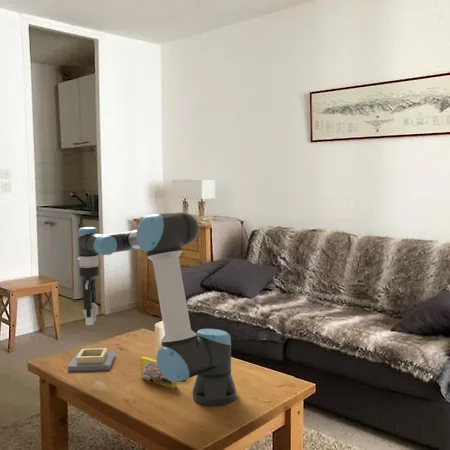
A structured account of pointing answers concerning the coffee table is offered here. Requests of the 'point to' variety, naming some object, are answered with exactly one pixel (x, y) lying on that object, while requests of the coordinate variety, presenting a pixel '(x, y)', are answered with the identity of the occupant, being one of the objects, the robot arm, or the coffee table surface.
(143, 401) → the coffee table surface
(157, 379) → the candy box
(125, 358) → the coffee table surface
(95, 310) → the lightbulb
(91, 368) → the lamp base
